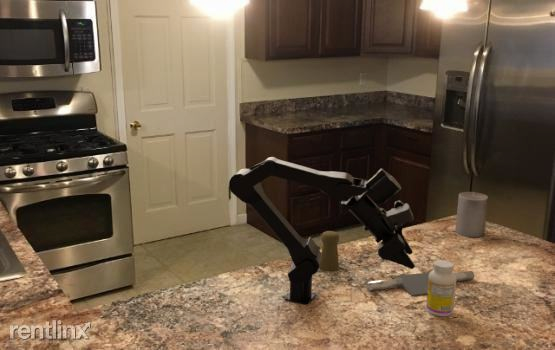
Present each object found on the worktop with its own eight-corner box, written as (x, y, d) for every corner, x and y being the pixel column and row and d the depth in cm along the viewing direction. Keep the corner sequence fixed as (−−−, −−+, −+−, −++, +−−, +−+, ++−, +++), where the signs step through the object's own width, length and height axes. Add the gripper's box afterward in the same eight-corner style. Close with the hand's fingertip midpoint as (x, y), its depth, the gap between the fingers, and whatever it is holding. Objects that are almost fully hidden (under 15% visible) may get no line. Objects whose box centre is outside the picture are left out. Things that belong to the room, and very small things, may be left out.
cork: (340, 271, 163) (341, 236, 160) (319, 271, 163) (320, 235, 160) (338, 263, 169) (339, 229, 166) (318, 263, 169) (319, 228, 166)
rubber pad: (411, 296, 148) (411, 294, 148) (391, 277, 159) (391, 276, 159) (451, 291, 151) (452, 290, 151) (429, 273, 163) (429, 272, 162)
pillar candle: (464, 226, 204) (468, 186, 200) (489, 233, 196) (493, 192, 193) (449, 232, 198) (453, 191, 194) (474, 240, 190) (478, 197, 187)
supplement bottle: (432, 302, 145) (436, 256, 142) (457, 310, 141) (462, 262, 138) (421, 311, 140) (425, 263, 137) (446, 320, 136) (451, 271, 133)
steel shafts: (369, 292, 150) (369, 284, 150) (365, 288, 152) (366, 280, 152) (473, 280, 158) (474, 272, 158) (468, 277, 161) (469, 269, 160)
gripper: (396, 205, 126) (442, 254, 127) (393, 184, 144) (434, 227, 145) (359, 235, 130) (404, 283, 131) (361, 211, 148) (401, 253, 148)
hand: (412, 260), depth 139 cm, fingers open, 9 cm apart
